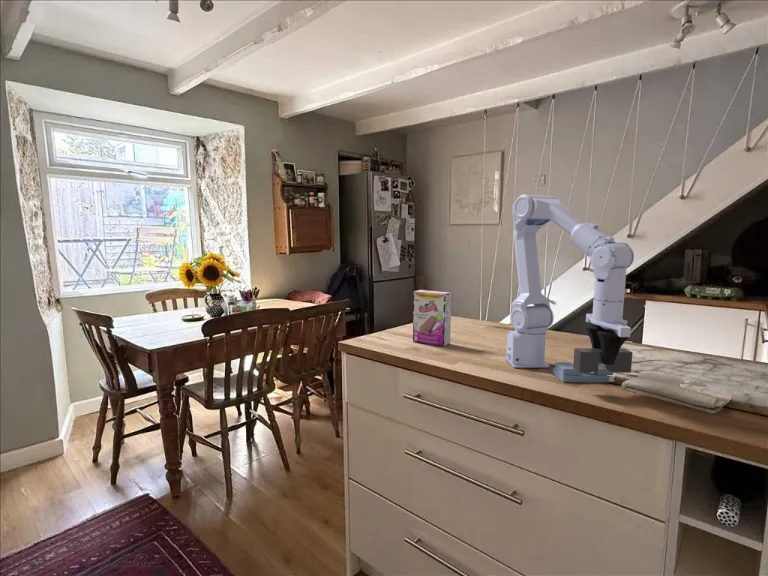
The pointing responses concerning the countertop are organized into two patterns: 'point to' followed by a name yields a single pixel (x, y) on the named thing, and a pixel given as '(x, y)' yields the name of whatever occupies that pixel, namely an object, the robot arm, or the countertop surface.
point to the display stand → (580, 373)
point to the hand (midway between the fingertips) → (603, 361)
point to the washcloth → (672, 391)
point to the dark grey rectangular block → (592, 357)
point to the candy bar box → (431, 317)
